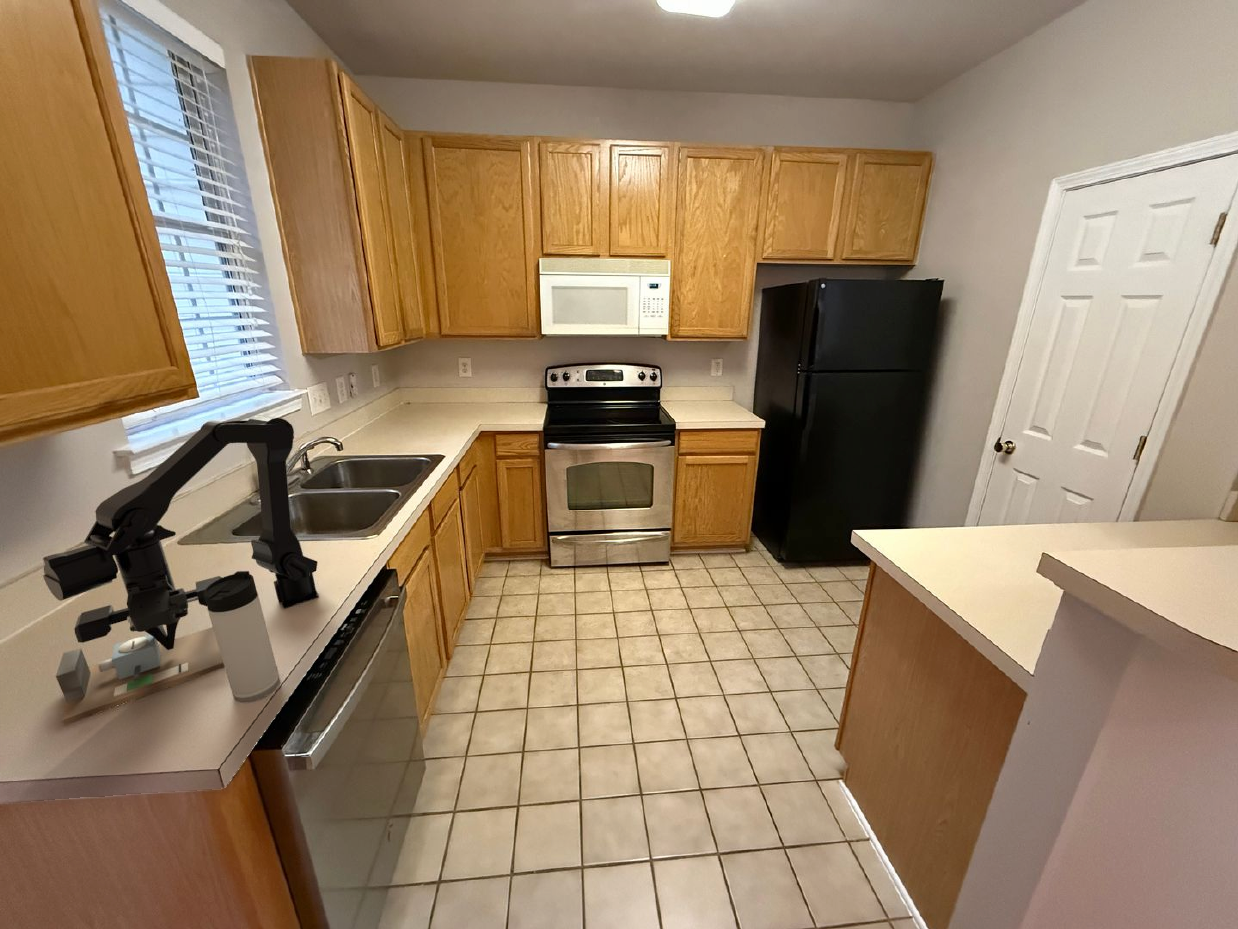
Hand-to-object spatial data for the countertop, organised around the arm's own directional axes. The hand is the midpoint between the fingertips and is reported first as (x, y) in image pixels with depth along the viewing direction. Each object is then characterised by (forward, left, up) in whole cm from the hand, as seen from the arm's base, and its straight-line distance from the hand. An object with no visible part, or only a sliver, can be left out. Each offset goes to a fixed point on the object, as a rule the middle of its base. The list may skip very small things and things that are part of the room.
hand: (170, 648), depth 86 cm
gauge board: (+2, +1, -3) cm, 3 cm away
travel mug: (-10, +18, -3) cm, 21 cm away
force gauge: (+5, +2, -1) cm, 6 cm away
